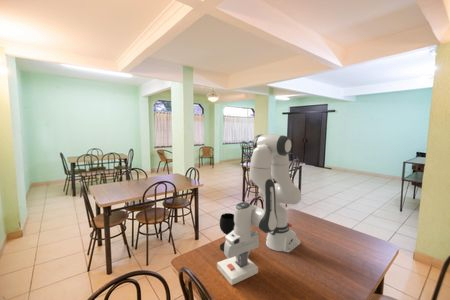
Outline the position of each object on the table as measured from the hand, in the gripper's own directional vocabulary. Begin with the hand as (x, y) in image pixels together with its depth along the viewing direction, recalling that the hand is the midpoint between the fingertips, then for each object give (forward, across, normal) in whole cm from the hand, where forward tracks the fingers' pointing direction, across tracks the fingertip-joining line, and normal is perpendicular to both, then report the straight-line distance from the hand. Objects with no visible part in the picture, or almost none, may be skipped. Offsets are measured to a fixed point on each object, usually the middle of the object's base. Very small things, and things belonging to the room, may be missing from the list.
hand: (242, 259), depth 108 cm
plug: (+2, 0, 0) cm, 2 cm away
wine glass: (+5, -4, -20) cm, 21 cm away
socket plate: (+5, +3, 0) cm, 6 cm away
